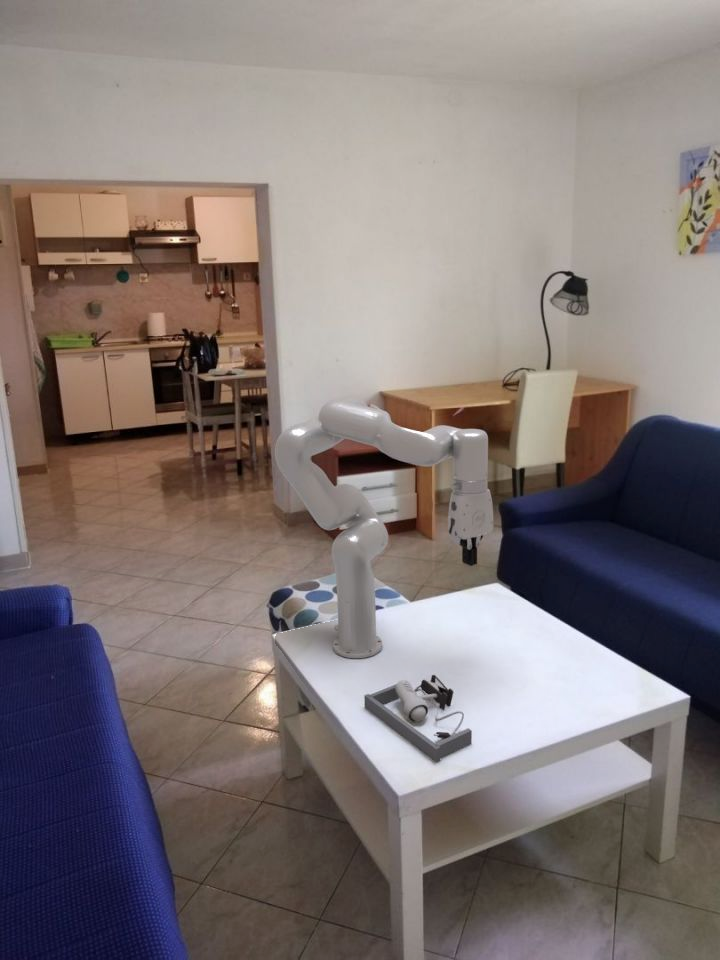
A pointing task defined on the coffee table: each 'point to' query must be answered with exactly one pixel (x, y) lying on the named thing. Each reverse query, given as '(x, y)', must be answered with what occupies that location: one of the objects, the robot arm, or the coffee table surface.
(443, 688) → the clip-on lamp
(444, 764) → the coffee table surface
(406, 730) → the grey u-shaped handle
